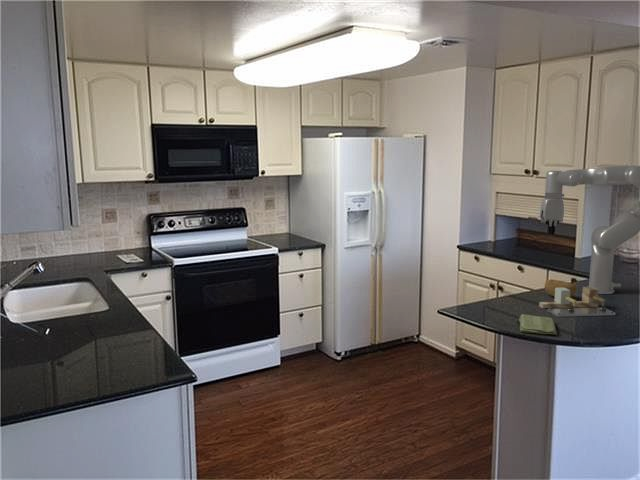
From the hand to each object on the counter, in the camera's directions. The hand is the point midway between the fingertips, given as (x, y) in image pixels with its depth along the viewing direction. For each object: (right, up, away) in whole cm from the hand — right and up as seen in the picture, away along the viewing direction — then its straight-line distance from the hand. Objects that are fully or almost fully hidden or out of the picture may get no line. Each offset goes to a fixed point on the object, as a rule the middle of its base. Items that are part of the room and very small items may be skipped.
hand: (550, 234), depth 258 cm
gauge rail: (-4, -32, -32) cm, 45 cm away
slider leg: (-7, -30, -32) cm, 45 cm away
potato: (-1, -30, -13) cm, 32 cm away
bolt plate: (-4, -33, -37) cm, 50 cm away
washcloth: (-29, -37, -55) cm, 73 cm away
